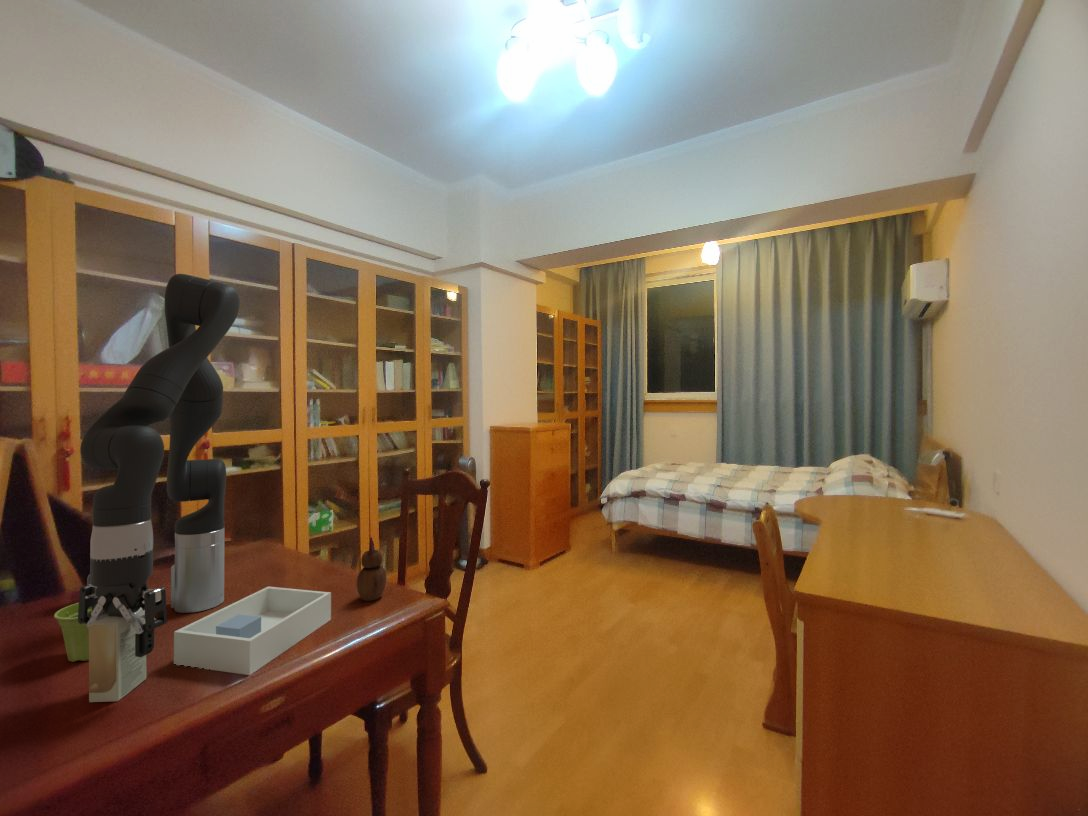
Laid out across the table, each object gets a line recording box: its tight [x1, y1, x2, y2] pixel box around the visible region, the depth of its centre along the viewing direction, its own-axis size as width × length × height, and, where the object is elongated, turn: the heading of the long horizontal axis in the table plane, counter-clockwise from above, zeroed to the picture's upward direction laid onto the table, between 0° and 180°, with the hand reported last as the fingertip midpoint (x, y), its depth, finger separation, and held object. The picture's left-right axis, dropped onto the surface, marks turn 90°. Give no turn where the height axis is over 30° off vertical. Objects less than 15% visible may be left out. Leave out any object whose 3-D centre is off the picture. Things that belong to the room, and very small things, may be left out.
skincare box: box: [88, 607, 147, 703], centre depth 76 cm, size 6×4×12 cm
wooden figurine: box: [356, 537, 387, 602], centre depth 113 cm, size 7×6×15 cm
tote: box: [173, 586, 332, 676], centre depth 93 cm, size 16×22×6 cm
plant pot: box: [53, 602, 92, 663], centre depth 87 cm, size 9×9×9 cm
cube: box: [216, 615, 261, 638], centre depth 88 cm, size 5×5×5 cm
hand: (122, 652), depth 76 cm, fingers open, 8 cm apart
